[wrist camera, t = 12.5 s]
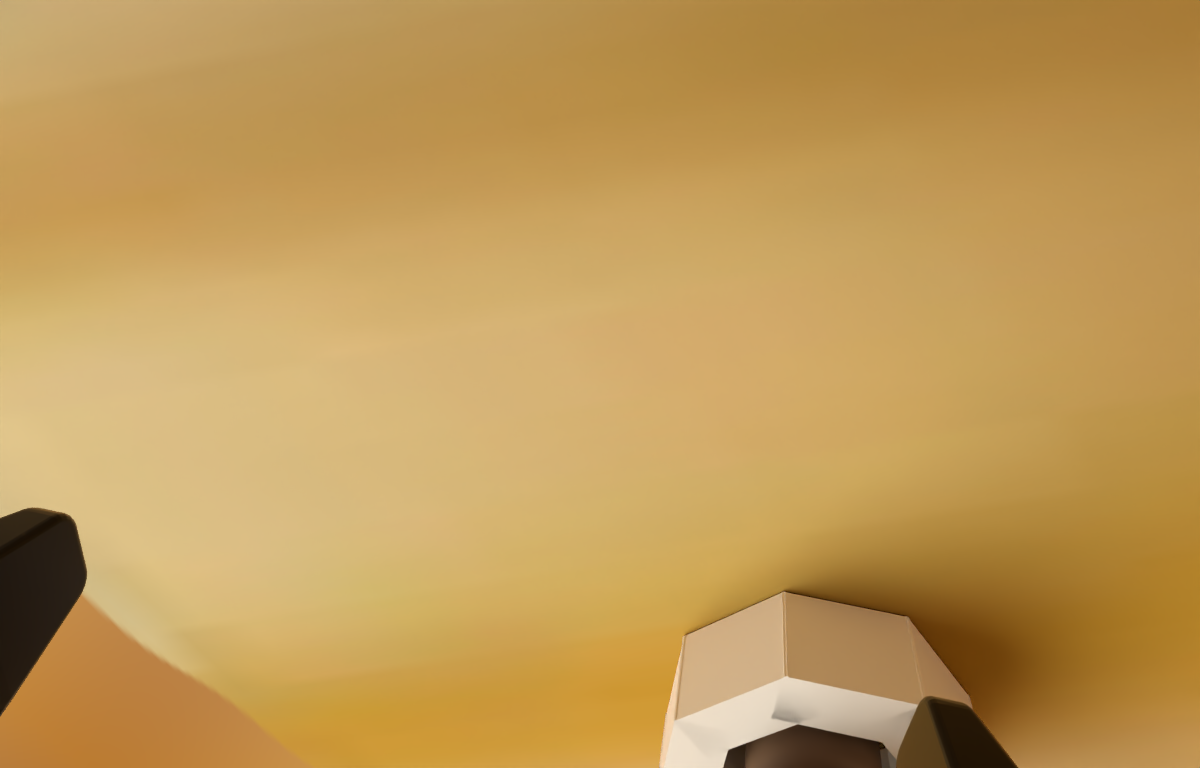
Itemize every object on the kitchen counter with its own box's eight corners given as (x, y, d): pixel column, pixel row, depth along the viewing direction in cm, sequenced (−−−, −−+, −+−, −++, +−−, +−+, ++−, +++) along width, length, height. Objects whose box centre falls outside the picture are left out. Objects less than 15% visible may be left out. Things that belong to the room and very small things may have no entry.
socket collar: (998, 634, 23) (1029, 727, 20) (910, 821, 27) (925, 919, 24) (697, 573, 23) (688, 655, 21) (654, 764, 27) (642, 852, 25)
